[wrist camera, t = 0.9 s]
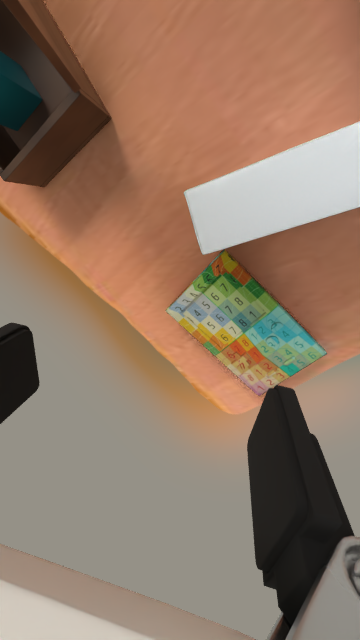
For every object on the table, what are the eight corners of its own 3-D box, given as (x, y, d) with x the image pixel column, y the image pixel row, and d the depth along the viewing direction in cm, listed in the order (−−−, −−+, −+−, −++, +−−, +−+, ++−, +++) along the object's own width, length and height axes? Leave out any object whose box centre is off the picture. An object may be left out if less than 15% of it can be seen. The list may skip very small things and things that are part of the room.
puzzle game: (259, 400, 37) (163, 313, 34) (256, 381, 41) (171, 302, 38) (329, 357, 32) (224, 251, 29) (318, 340, 36) (224, 246, 33)
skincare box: (212, 238, 33) (199, 257, 19) (201, 196, 31) (178, 182, 17) (394, 180, 27) (580, 142, 13) (393, 124, 25) (611, 4, 11)
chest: (44, 187, 34) (4, 181, 28) (-44, 63, 30) (-112, 25, 24) (111, 118, 30) (81, 93, 23) (18, -41, 25) (-49, -122, 19)
